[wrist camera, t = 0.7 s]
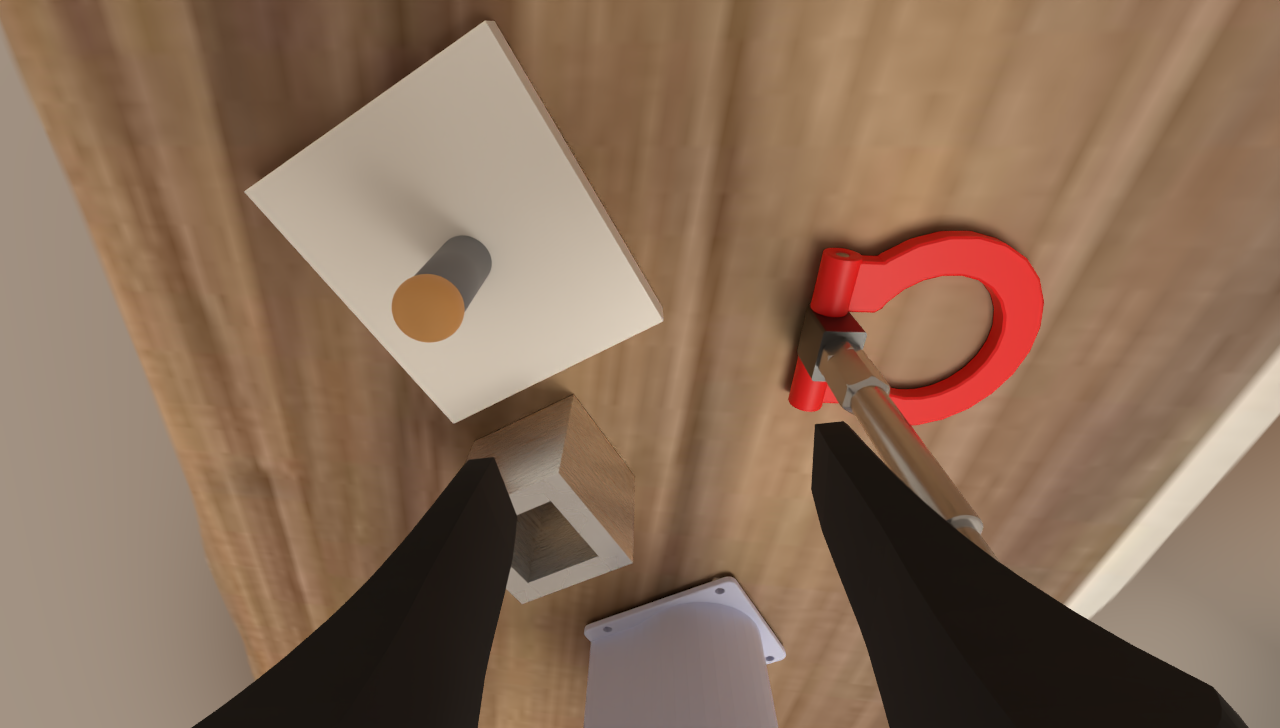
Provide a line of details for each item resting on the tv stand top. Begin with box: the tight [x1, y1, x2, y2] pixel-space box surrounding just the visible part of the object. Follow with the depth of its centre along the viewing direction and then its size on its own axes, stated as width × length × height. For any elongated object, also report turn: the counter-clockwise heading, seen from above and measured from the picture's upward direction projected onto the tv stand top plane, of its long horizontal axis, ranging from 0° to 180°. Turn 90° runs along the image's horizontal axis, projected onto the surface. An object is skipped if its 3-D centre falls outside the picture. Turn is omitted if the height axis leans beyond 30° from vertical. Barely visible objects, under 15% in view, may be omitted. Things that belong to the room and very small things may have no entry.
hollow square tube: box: [465, 394, 635, 604], centre depth 24 cm, size 5×5×5 cm
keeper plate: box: [244, 20, 663, 424], centre depth 18 cm, size 10×11×6 cm
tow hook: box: [788, 231, 1044, 562], centre depth 17 cm, size 8×13×9 cm
